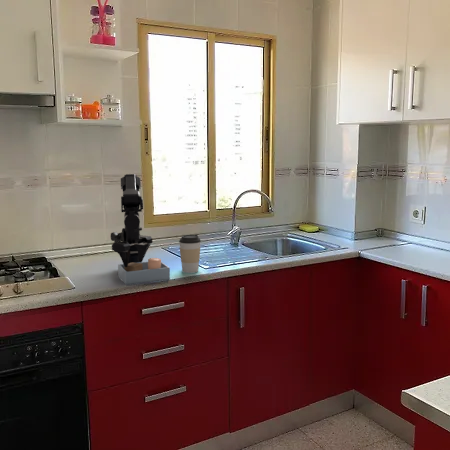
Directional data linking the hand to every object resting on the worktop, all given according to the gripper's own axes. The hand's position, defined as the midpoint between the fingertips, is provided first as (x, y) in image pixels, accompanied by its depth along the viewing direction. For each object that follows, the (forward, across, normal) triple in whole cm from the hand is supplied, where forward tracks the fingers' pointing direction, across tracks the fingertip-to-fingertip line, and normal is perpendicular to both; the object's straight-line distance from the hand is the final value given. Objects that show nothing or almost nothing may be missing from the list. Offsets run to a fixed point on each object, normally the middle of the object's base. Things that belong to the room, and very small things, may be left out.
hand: (133, 264), depth 199 cm
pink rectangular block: (+5, -3, +8) cm, 9 cm away
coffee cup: (+6, -20, +14) cm, 25 cm away
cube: (+5, 0, 0) cm, 5 cm away
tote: (+6, -2, +4) cm, 7 cm away
